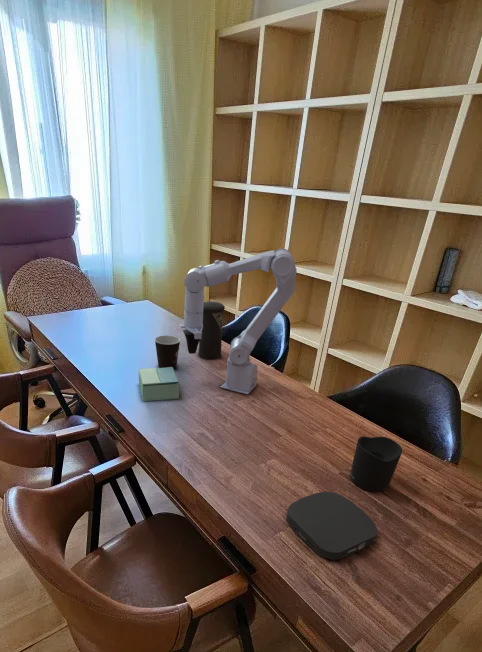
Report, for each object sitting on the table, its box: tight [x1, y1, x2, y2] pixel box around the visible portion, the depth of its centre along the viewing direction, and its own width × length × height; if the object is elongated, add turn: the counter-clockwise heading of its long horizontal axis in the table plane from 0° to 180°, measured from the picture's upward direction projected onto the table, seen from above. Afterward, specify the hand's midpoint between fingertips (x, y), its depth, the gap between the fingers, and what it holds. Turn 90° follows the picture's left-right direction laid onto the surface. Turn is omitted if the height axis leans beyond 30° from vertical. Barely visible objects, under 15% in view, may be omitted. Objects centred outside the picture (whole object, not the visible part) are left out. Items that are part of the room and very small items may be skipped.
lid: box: [155, 367, 180, 384], centre depth 132 cm, size 5×11×1 cm, turn 13°
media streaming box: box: [286, 491, 378, 561], centre depth 85 cm, size 15×15×3 cm
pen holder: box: [349, 435, 403, 493], centre depth 97 cm, size 9×9×10 cm
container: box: [198, 300, 225, 360], centre depth 156 cm, size 9×9×20 cm
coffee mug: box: [154, 334, 181, 370], centre depth 149 cm, size 12×9×10 cm
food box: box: [138, 367, 180, 402], centre depth 133 cm, size 11×11×6 cm
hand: (191, 352), depth 136 cm, fingers closed
